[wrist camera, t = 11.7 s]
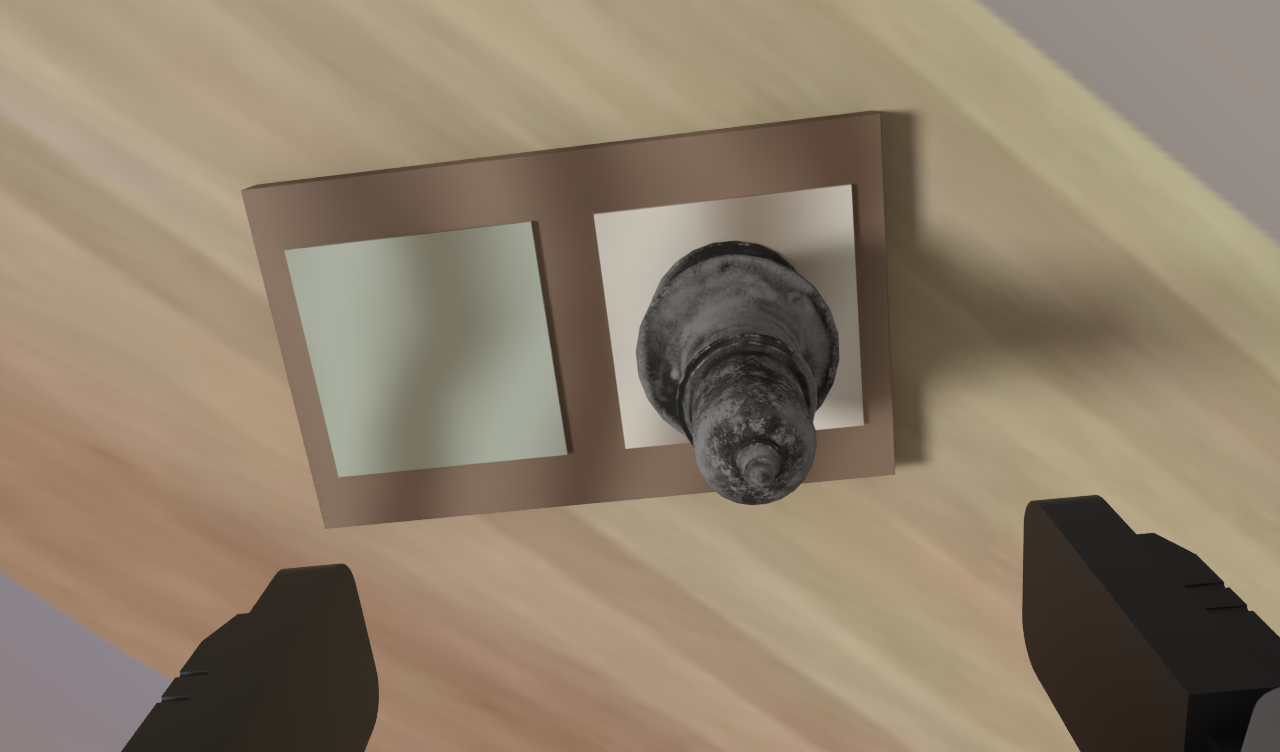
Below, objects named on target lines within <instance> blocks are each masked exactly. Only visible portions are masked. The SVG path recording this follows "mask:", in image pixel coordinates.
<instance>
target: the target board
mask: <svg viewBox="0 0 1280 752" xmlns="http://www.w3.org/2000/svg"><path fill="white" fill-rule="evenodd" d="M241 192H242V196H243V200H244V204H245V208H246V212H247V216H248V220H249V224H250V228H251V232H252V236H253V240H254V245H255V249H256V253H257V257H258V261H259V265H260V269H261V273H262V277H263V281H264V285H265V289H266V293H267V297H268V301H269V305H270V309H271V313H272V317H273V321H274V325H275V329H276V333H277V337H278V341H279V345H280V349H281V353H282V357H283V361H284V365H285V369H286V373H287V377H288V381H289V385H290V389H291V393H292V397H293V401H294V405H295V409H296V413H297V417H298V421H299V425H300V429H301V433H302V437H303V441H304V445H305V449H306V453H307V457H308V461H309V465H310V469H311V473H312V477H313V481H314V485H315V489H316V493H317V497H318V502H319V506H320V510H321V514H322V518H323V522H324V526H325V529H328V528H338V527H349V526H359V525H370V524H380V523H391V522H401V521H412V520H422V519H433V518H443V517H454V516H464V515H475V514H485V513H496V512H506V511H517V510H527V509H538V508H548V507H559V506H569V505H580V504H590V503H601V502H611V501H622V500H632V499H643V498H653V497H664V496H674V495H685V494H695V493H706V492H716V491H714V490H713V489H712V488H711V487H710V486H709V484H708V483H707V482H706V480H705V479H704V478H703V476H702V475H701V473H700V472H699V469H698V466H697V464H696V461H695V458H694V448H693V445H692V444H691V443H690V441H689V440H688V439H687V437H686V436H684V435H682V434H681V433H680V432H678V431H677V430H676V429H674V428H673V427H672V426H670V425H669V424H668V423H667V422H665V421H664V420H663V419H662V418H661V416H660V415H659V414H658V413H657V411H656V410H655V409H654V407H653V406H652V405H651V403H650V402H649V401H648V399H647V397H646V394H645V392H644V389H643V387H642V384H641V382H640V379H639V377H638V368H637V359H636V347H637V340H638V334H639V328H640V325H641V322H642V320H643V318H644V316H645V314H646V312H647V309H648V307H649V305H650V303H651V302H652V298H653V296H654V293H655V291H656V289H657V287H658V285H659V283H660V281H661V279H662V278H663V276H664V275H665V274H666V273H667V272H668V270H669V269H670V268H671V267H672V266H673V264H674V263H675V262H677V261H678V260H680V259H681V258H682V257H684V256H685V255H687V254H688V253H690V252H691V251H692V250H695V249H698V248H700V247H703V246H706V245H708V244H711V243H715V242H725V241H742V242H748V243H754V244H758V245H760V246H763V247H765V248H767V249H769V250H771V251H774V252H776V253H777V254H779V255H780V256H781V257H782V258H783V259H785V260H786V261H787V262H788V263H790V264H791V265H792V266H793V267H794V268H795V270H796V271H797V272H798V273H799V274H800V275H801V276H803V277H804V278H805V279H806V280H807V281H809V282H810V283H811V284H812V285H813V286H815V288H816V289H817V290H818V292H819V293H820V295H821V296H822V298H823V299H824V301H825V302H826V304H827V305H828V306H829V308H830V310H831V313H832V316H833V319H834V322H835V325H836V328H837V331H838V336H839V363H838V367H837V371H836V376H835V380H834V384H833V386H832V388H831V389H830V391H829V393H828V395H827V397H826V399H825V400H824V402H823V404H822V406H821V407H820V408H819V409H818V410H817V411H816V412H815V416H814V421H813V424H814V427H815V430H816V441H817V448H816V452H815V457H814V461H813V465H812V468H811V469H810V471H809V473H808V475H807V477H806V478H805V480H804V481H803V482H802V483H811V482H822V481H832V480H843V479H853V478H864V477H874V476H885V475H895V458H894V434H893V410H892V386H891V362H890V338H889V314H888V290H887V266H886V242H885V218H884V193H883V169H882V145H881V121H880V113H877V112H875V111H866V112H857V113H849V114H841V115H832V116H824V117H816V118H807V119H799V120H791V121H783V122H774V123H766V124H758V125H749V126H741V127H733V128H724V129H716V130H708V131H700V132H691V133H683V134H675V135H666V136H658V137H650V138H641V139H633V140H625V141H617V142H608V143H600V144H592V145H583V146H575V147H567V148H559V149H550V150H542V151H534V152H525V153H517V154H509V155H500V156H492V157H484V158H476V159H467V160H459V161H451V162H442V163H434V164H426V165H417V166H409V167H401V168H393V169H384V170H376V171H368V172H359V173H351V174H343V175H334V176H326V177H318V178H310V179H301V180H293V181H285V182H276V183H268V184H260V185H255V186H252V187H249V188H246V189H244V190H241Z"/></svg>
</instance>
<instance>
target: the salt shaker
mask: <svg viewBox="0 0 1280 752" xmlns="http://www.w3.org/2000/svg"><path fill="white" fill-rule="evenodd" d="M636 359H637V368H638V377H639V379H640V382H641V384H642V387H643V389H644V392H645V394H646V397H647V399H648V401H649V402H650V403H651V405H652V406H653V407H654V409H655V410H656V411H657V413H658V414H659V415H660V416H661V418H662V419H663V420H664V421H665V422H667V423H668V424H669V425H670V426H672V427H673V428H674V429H676V430H677V431H678V432H680V433H681V434H682V435H684V436H686V437H687V439H688V440H689V441H690V443H691V444H692V445H693V448H694V458H695V461H696V464H697V466H698V469H699V472H700V473H701V475H702V476H703V478H704V479H705V480H706V482H707V483H708V484H709V486H710V487H711V488H712V489H713V490H714V491H716V492H717V493H718V494H720V495H721V496H722V497H724V498H726V499H729V500H731V501H733V502H736V503H741V504H747V505H759V504H768V503H771V502H774V501H777V500H780V499H782V498H784V497H785V496H787V495H788V494H790V493H791V492H793V491H795V489H796V488H797V487H798V486H799V485H800V484H801V483H802V482H803V481H804V480H805V478H806V477H807V475H808V473H809V471H810V469H811V468H812V465H813V461H814V457H815V452H816V448H817V441H816V430H815V427H814V424H813V421H814V416H815V412H816V411H817V410H818V409H819V408H820V407H821V406H822V404H823V402H824V400H825V399H826V397H827V395H828V393H829V391H830V389H831V388H832V386H833V384H834V380H835V376H836V371H837V367H838V363H839V336H838V331H837V328H836V325H835V322H834V319H833V316H832V313H831V310H830V308H829V306H828V305H827V304H826V302H825V301H824V299H823V298H822V296H821V295H820V293H819V292H818V290H817V289H816V288H815V286H813V285H812V284H811V283H810V282H809V281H807V280H806V279H805V278H804V277H803V276H801V275H800V274H799V273H798V272H797V271H796V270H795V268H794V267H793V266H792V265H791V264H790V263H788V262H787V261H786V260H785V259H783V258H782V257H781V256H780V255H779V254H777V253H776V252H774V251H771V250H769V249H767V248H765V247H763V246H760V245H758V244H754V243H748V242H742V241H725V242H715V243H711V244H708V245H706V246H703V247H700V248H698V249H695V250H692V251H691V252H690V253H688V254H687V255H685V256H684V257H682V258H681V259H680V260H678V261H677V262H675V263H674V264H673V266H672V267H671V268H670V269H669V270H668V272H667V273H666V274H665V275H664V276H663V278H662V279H661V281H660V283H659V285H658V287H657V289H656V291H655V293H654V296H653V298H652V302H651V303H650V305H649V307H648V309H647V312H646V314H645V316H644V318H643V320H642V322H641V325H640V328H639V334H638V340H637V347H636Z"/></svg>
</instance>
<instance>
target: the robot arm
mask: <svg viewBox="0 0 1280 752" xmlns="http://www.w3.org/2000/svg"><path fill="white" fill-rule="evenodd" d="M1022 622H1023V632H1024V638H1025V644H1026V648H1027V652H1028V656H1029V659H1030V662H1031V665H1032V667H1033V669H1034V672H1035V673H1036V675H1037V677H1038V679H1039V681H1040V682H1041V684H1042V686H1043V688H1044V689H1045V691H1046V693H1047V694H1048V696H1049V698H1050V700H1051V701H1052V703H1053V705H1054V707H1055V708H1056V710H1057V712H1058V714H1059V715H1060V717H1061V719H1062V720H1063V722H1064V724H1065V726H1066V727H1067V729H1068V731H1069V733H1070V734H1071V736H1072V738H1073V740H1074V741H1075V743H1076V745H1077V746H1078V748H1079V750H1080V752H1280V637H1279V636H1278V635H1277V634H1276V633H1275V632H1274V631H1273V630H1272V629H1271V628H1270V627H1269V626H1268V625H1267V624H1266V623H1265V622H1264V621H1263V620H1262V619H1261V618H1260V617H1259V616H1258V615H1257V614H1256V613H1255V612H1254V611H1248V609H1247V604H1246V603H1245V602H1244V601H1243V600H1242V599H1241V598H1240V597H1238V596H1237V595H1236V594H1235V593H1234V592H1233V591H1232V590H1231V589H1230V588H1225V586H1224V582H1223V581H1222V580H1221V579H1220V578H1219V577H1218V576H1217V575H1216V574H1215V573H1214V572H1213V571H1212V570H1211V569H1210V568H1209V567H1208V566H1207V565H1206V564H1205V563H1204V562H1203V561H1202V560H1201V559H1200V558H1199V557H1198V556H1197V555H1196V554H1194V553H1192V552H1190V551H1188V550H1186V549H1184V548H1183V547H1181V546H1179V545H1177V544H1175V543H1173V542H1171V541H1169V540H1167V539H1165V538H1163V537H1161V536H1159V535H1157V534H1155V533H1147V534H1136V533H1135V532H1134V531H1133V530H1132V529H1131V528H1130V527H1129V526H1128V525H1127V524H1126V523H1125V522H1124V520H1123V519H1122V518H1121V517H1120V516H1119V515H1118V514H1117V513H1116V512H1115V511H1114V510H1113V509H1112V508H1111V506H1110V505H1109V504H1108V503H1107V502H1106V501H1105V500H1104V499H1103V498H1102V497H1100V496H1098V495H1090V496H1079V497H1069V498H1058V499H1047V500H1036V501H1031V502H1029V504H1028V505H1027V507H1026V511H1025V516H1024V545H1023V604H1022ZM378 703H379V686H378V676H377V671H376V666H375V662H374V658H373V654H372V650H371V646H370V641H369V637H368V633H367V629H366V625H365V621H364V617H363V612H362V608H361V604H360V600H359V596H358V592H357V587H356V583H355V580H354V577H353V574H352V572H351V570H350V569H349V568H348V566H346V565H345V564H331V565H321V566H310V567H299V568H288V569H282V570H280V571H279V572H278V573H277V574H276V575H275V576H274V578H273V579H272V581H271V582H270V584H269V585H268V587H267V588H266V589H265V591H264V592H263V594H262V595H261V597H260V598H259V600H258V601H257V603H256V604H255V605H254V607H253V608H252V610H251V611H250V613H246V614H237V615H236V616H235V617H233V618H232V619H231V620H229V621H228V622H227V623H226V624H224V625H223V626H222V627H220V628H219V629H218V630H216V631H215V632H214V633H212V634H211V635H210V636H208V637H207V638H206V639H205V640H203V641H202V642H201V643H200V645H199V646H198V647H197V649H196V650H195V652H194V653H193V654H192V656H191V657H190V658H189V660H188V661H187V662H186V664H185V665H184V667H183V668H182V669H181V671H180V677H176V678H175V679H174V680H173V682H172V683H171V684H170V686H169V687H168V688H167V690H166V691H165V692H164V694H163V695H162V702H161V703H157V704H156V705H155V706H154V708H153V709H152V710H151V712H150V713H149V714H148V716H147V717H146V719H145V720H144V722H143V723H142V724H141V725H140V727H139V728H138V729H137V731H136V732H135V734H134V735H133V736H132V738H131V739H130V740H129V742H128V743H127V745H126V746H125V747H124V749H123V750H122V751H121V752H364V751H365V749H366V746H367V744H368V741H369V739H370V736H371V734H372V731H373V729H374V726H375V722H376V718H377V712H378Z"/></svg>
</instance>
